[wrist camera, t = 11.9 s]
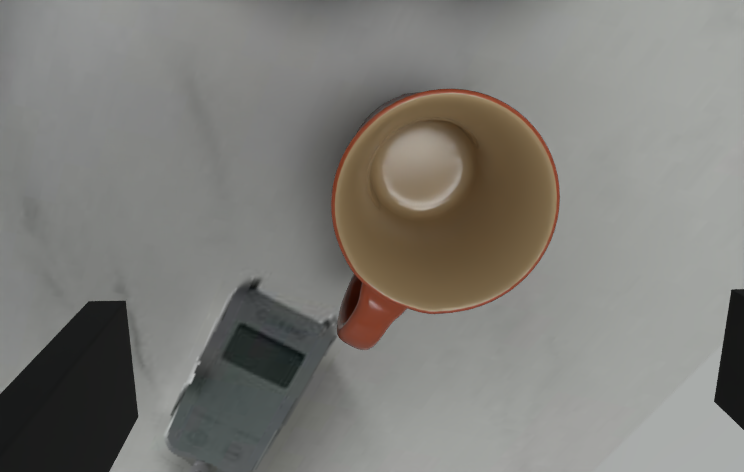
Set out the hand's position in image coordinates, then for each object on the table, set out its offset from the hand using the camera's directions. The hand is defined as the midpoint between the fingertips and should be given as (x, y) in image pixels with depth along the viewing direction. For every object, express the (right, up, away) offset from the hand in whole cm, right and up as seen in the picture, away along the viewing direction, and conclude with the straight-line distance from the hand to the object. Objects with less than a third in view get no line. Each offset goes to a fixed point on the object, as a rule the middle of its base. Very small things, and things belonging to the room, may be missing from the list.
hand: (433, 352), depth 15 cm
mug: (0, +5, +21) cm, 22 cm away
